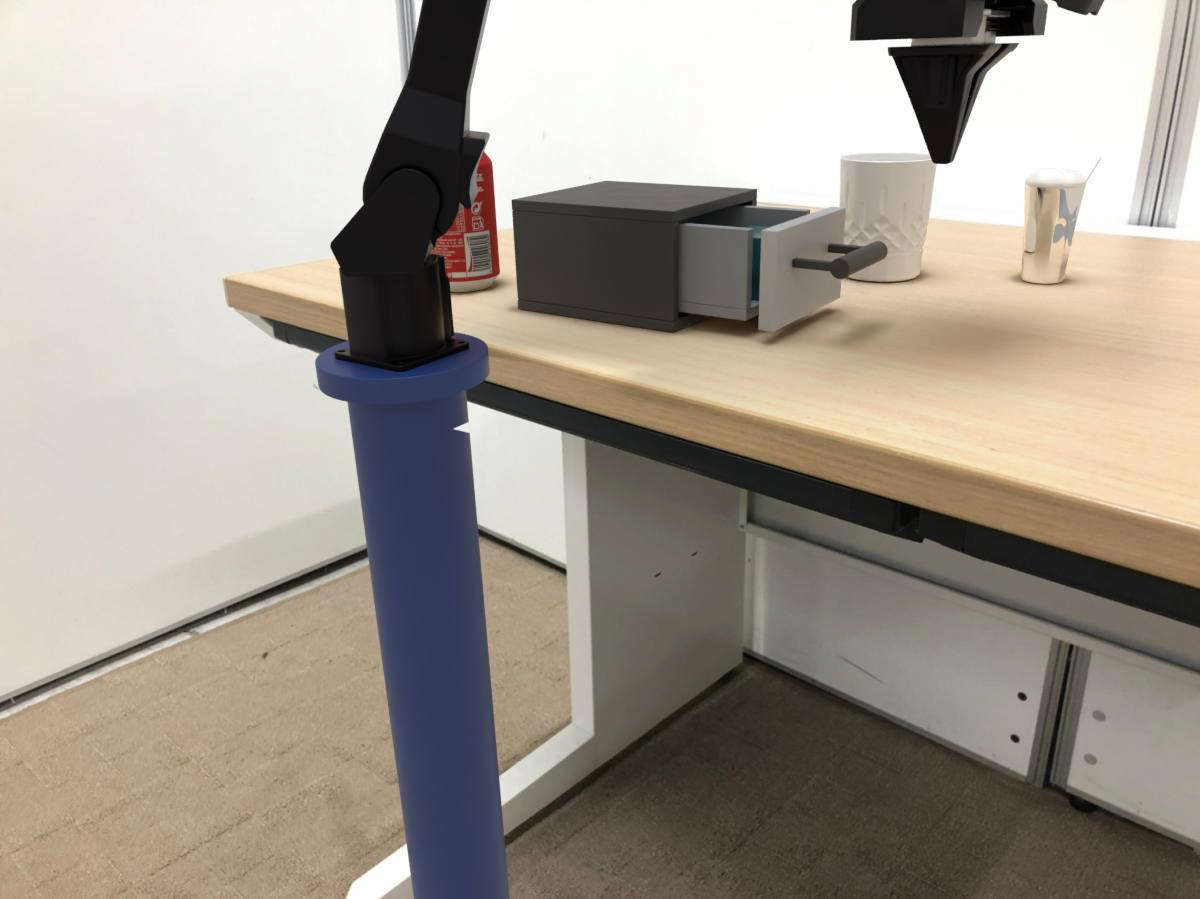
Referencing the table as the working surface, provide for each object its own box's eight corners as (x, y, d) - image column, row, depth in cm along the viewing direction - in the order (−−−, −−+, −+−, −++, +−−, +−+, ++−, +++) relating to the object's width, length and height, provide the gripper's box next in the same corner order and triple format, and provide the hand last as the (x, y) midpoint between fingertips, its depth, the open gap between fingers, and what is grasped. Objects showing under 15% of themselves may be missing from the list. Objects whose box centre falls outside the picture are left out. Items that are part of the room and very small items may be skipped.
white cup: (942, 272, 87) (953, 154, 83) (899, 288, 82) (910, 163, 78) (861, 261, 92) (869, 150, 88) (816, 276, 87) (822, 158, 83)
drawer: (894, 304, 73) (901, 210, 71) (832, 340, 65) (838, 236, 62) (688, 280, 83) (688, 197, 80) (610, 309, 74) (608, 217, 72)
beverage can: (492, 275, 91) (482, 140, 87) (507, 289, 86) (498, 145, 81) (424, 282, 89) (410, 144, 85) (435, 297, 84) (421, 150, 79)
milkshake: (1077, 288, 80) (1097, 160, 76) (1007, 282, 82) (1023, 158, 78) (1085, 277, 83) (1104, 154, 79) (1018, 272, 86) (1034, 153, 82)
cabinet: (754, 296, 80) (757, 188, 77) (673, 332, 71) (673, 211, 68) (608, 279, 88) (605, 180, 85) (517, 309, 79) (510, 199, 76)
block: (774, 303, 70) (777, 239, 68) (719, 296, 72) (720, 234, 71) (801, 290, 73) (804, 229, 72) (747, 284, 76) (749, 225, 74)
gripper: (1088, -162, 45) (1041, 187, 51) (1153, -117, 59) (1110, 153, 65) (856, -131, 51) (837, 178, 57) (964, -97, 65) (941, 148, 71)
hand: (942, 163), depth 62 cm, fingers closed
